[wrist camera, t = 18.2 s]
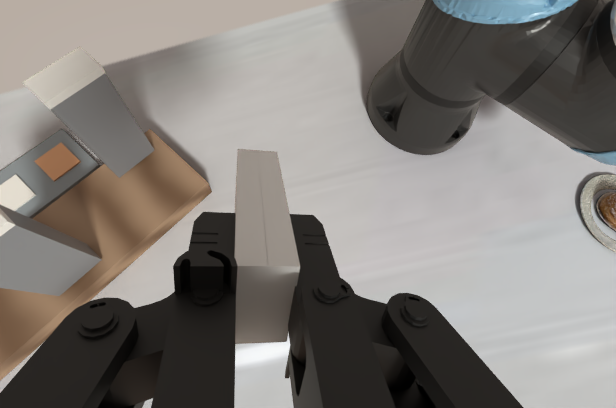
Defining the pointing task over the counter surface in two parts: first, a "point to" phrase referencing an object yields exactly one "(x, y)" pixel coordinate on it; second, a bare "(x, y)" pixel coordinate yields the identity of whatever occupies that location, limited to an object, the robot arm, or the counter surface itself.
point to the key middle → (40, 256)
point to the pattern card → (44, 174)
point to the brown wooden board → (101, 239)
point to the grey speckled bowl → (600, 207)
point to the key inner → (91, 110)
